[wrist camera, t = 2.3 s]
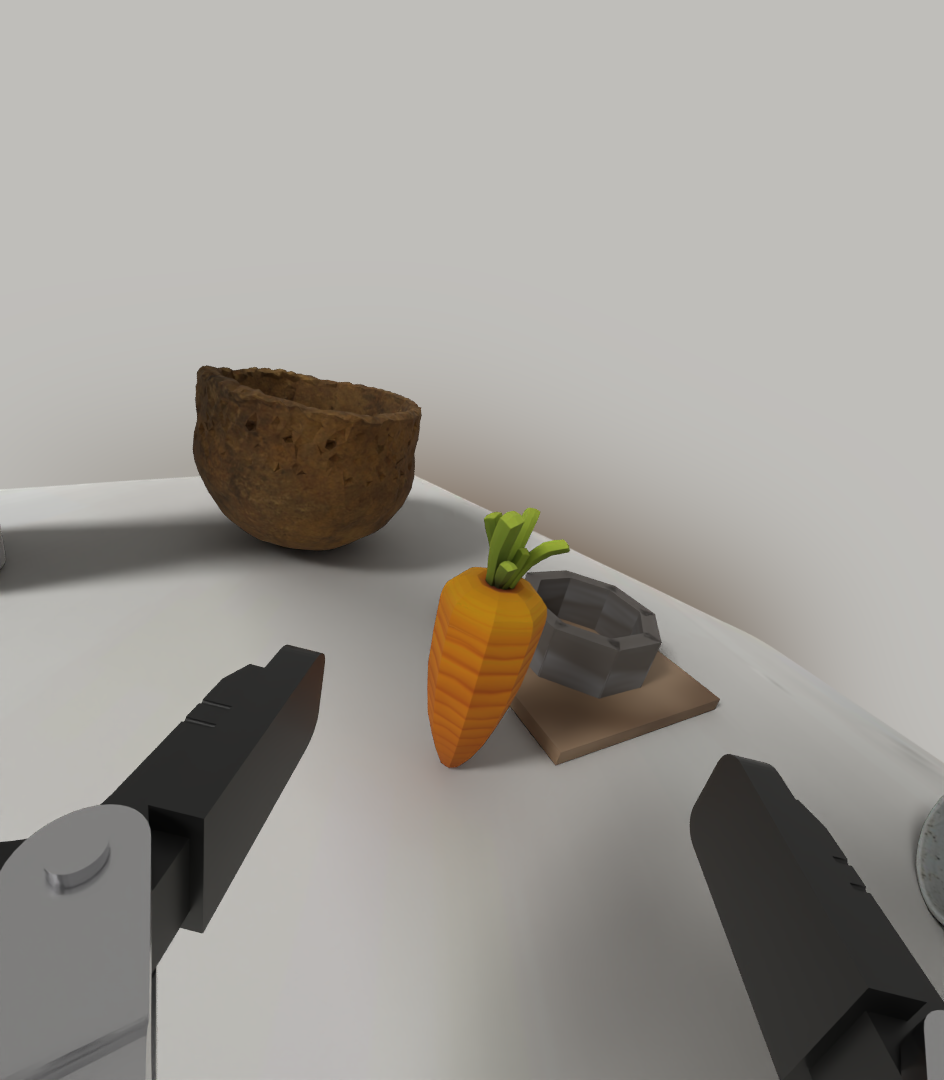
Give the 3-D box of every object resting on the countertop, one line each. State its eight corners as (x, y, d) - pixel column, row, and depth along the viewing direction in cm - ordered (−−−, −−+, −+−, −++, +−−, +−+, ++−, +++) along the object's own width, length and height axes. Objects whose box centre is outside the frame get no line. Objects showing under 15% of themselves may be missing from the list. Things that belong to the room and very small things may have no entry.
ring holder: (437, 611, 39) (449, 558, 37) (576, 597, 47) (592, 554, 45) (555, 765, 26) (582, 697, 25) (714, 709, 35) (743, 655, 33)
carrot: (457, 718, 28) (522, 485, 22) (511, 781, 25) (604, 526, 19) (385, 748, 25) (440, 485, 19) (437, 825, 21) (521, 534, 16)
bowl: (189, 595, 33) (188, 382, 28) (195, 500, 48) (195, 348, 42) (428, 585, 42) (463, 424, 37) (371, 508, 57) (390, 385, 52)
